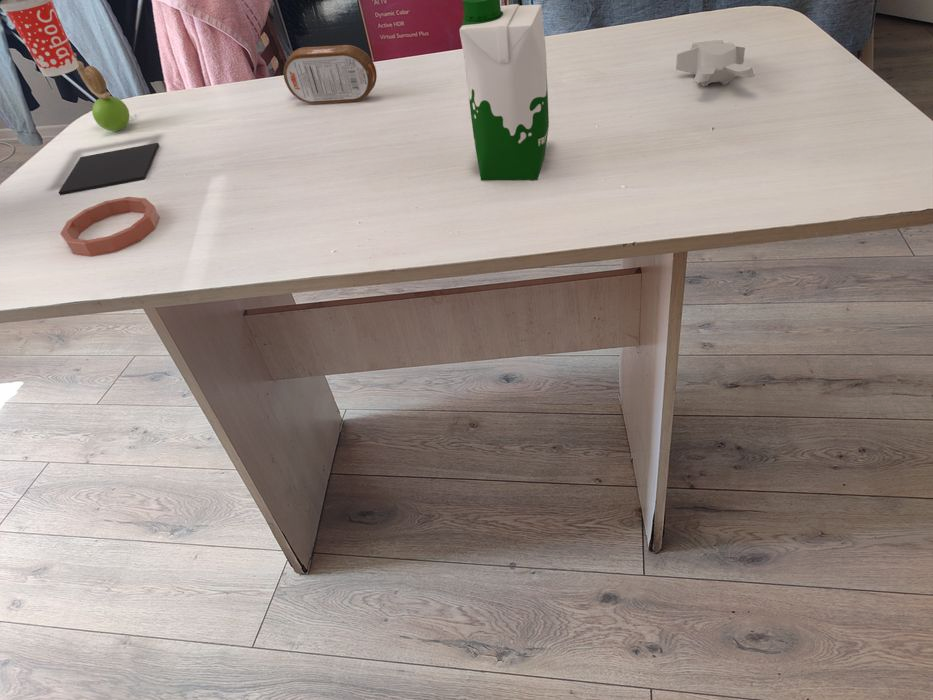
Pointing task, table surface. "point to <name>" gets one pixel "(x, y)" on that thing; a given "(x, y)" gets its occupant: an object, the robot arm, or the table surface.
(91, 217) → the reddish brown ring
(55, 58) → the beverage cup
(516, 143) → the milk carton
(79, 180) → the mat
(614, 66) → the table surface
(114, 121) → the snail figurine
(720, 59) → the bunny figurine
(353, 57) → the tin
